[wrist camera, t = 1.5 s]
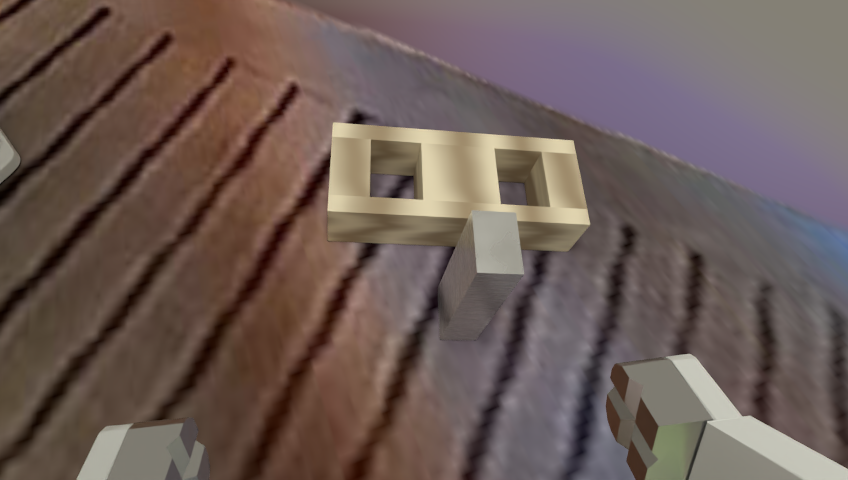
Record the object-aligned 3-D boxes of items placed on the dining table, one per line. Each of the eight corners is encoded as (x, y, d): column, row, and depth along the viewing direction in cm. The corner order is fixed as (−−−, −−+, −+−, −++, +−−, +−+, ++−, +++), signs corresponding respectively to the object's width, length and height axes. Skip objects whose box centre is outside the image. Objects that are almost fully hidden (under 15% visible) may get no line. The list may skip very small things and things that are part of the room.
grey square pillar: (439, 339, 45) (477, 272, 34) (437, 289, 47) (471, 210, 36) (475, 340, 45) (524, 274, 34) (471, 290, 47) (516, 212, 36)
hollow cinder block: (327, 241, 48) (327, 211, 43) (332, 157, 52) (333, 122, 47) (567, 251, 51) (590, 224, 46) (554, 172, 55) (573, 140, 51)
